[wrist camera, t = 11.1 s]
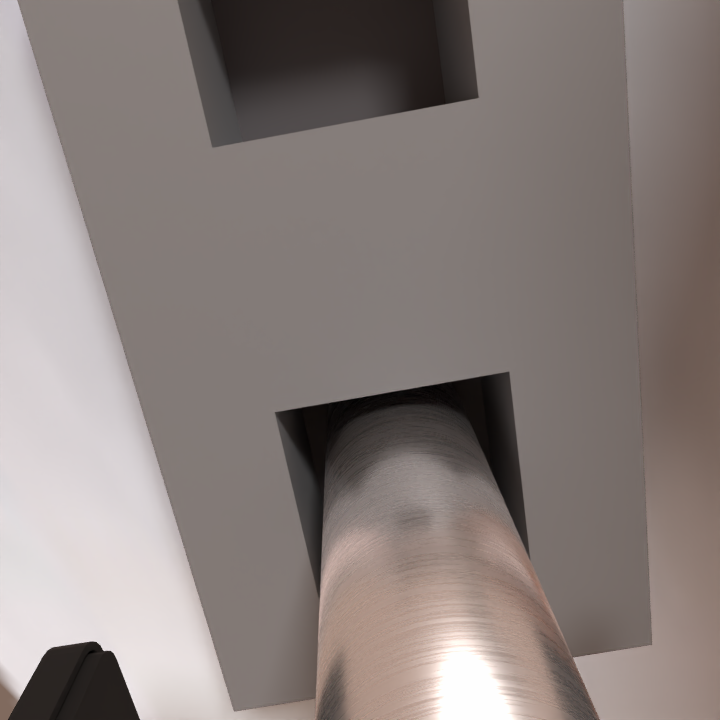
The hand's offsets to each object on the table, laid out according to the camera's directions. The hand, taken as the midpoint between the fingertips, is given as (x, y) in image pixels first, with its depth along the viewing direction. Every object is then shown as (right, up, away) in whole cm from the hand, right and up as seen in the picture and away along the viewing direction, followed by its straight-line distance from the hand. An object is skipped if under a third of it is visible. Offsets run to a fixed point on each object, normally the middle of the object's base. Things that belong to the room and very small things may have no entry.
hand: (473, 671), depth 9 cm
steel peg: (-1, +3, +9) cm, 10 cm away
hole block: (-1, +8, +9) cm, 12 cm away
